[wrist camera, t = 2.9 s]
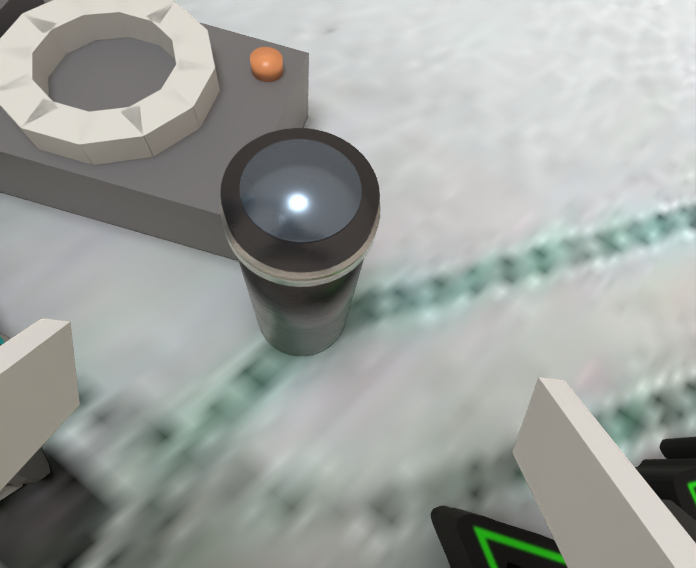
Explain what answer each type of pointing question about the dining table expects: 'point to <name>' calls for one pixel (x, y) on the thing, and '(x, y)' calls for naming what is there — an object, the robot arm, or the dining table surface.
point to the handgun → (26, 465)
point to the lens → (300, 232)
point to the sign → (541, 552)
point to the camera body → (136, 111)
